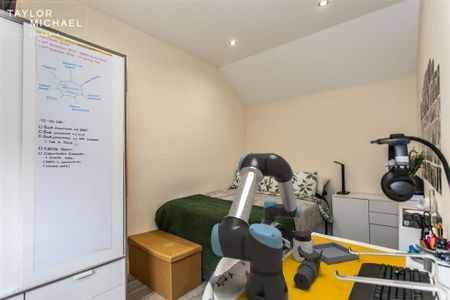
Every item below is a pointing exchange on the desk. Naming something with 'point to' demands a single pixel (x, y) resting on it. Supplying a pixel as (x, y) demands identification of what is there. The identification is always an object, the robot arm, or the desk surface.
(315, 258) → the laser sight
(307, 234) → the jar
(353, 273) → the desk surface
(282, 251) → the robot arm
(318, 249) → the tray
